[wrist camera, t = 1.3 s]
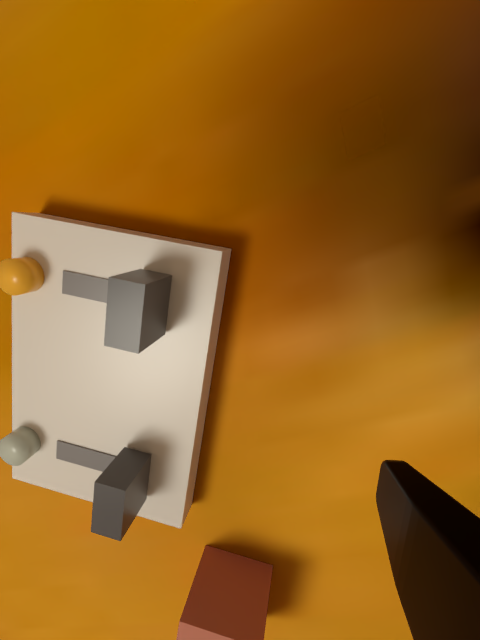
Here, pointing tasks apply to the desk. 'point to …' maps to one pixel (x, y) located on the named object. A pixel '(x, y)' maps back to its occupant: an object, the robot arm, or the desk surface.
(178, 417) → the panel
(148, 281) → the lever tagged
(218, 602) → the block
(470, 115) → the desk surface
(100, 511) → the lever
